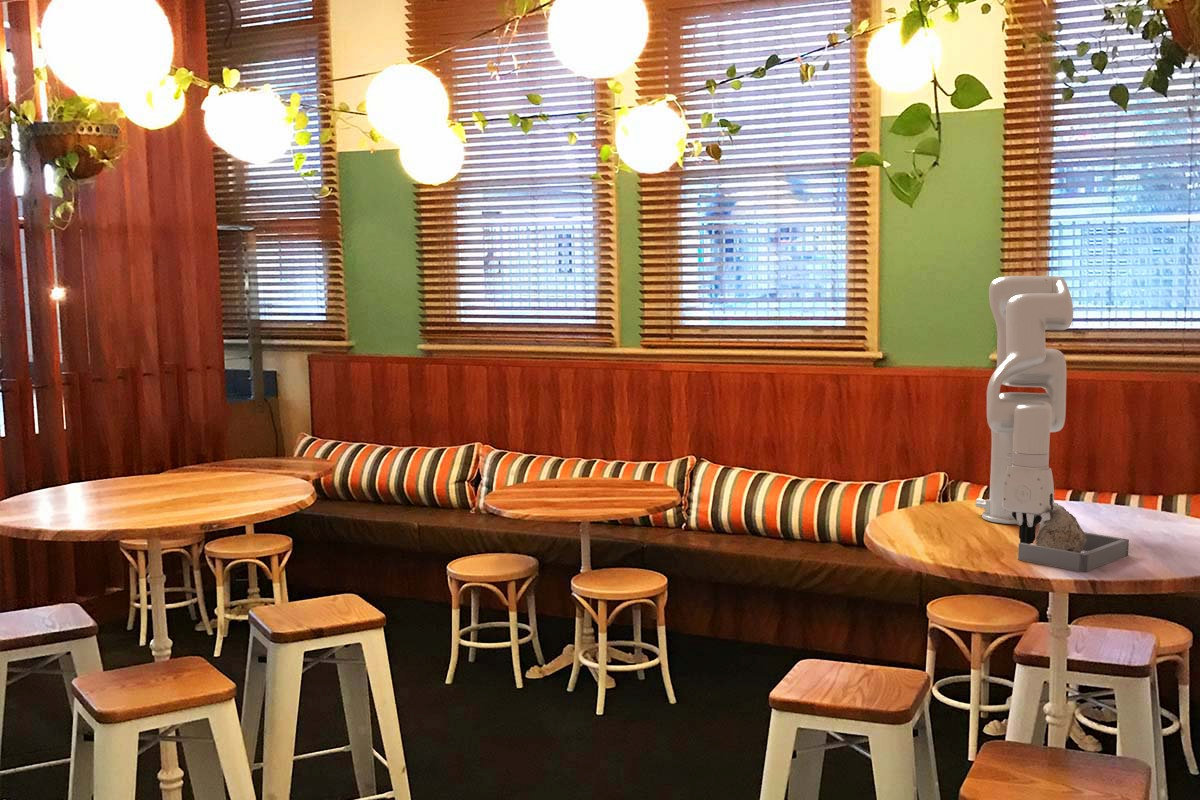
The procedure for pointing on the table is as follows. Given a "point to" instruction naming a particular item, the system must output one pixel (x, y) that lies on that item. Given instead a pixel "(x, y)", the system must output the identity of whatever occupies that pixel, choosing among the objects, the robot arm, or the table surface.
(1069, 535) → the rock
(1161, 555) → the table surface
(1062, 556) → the frame
